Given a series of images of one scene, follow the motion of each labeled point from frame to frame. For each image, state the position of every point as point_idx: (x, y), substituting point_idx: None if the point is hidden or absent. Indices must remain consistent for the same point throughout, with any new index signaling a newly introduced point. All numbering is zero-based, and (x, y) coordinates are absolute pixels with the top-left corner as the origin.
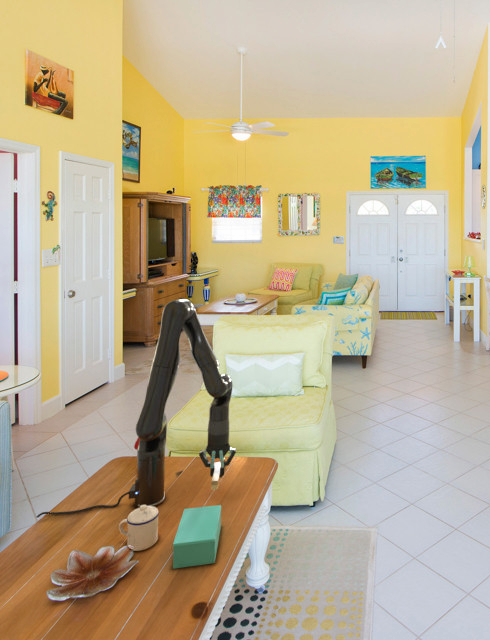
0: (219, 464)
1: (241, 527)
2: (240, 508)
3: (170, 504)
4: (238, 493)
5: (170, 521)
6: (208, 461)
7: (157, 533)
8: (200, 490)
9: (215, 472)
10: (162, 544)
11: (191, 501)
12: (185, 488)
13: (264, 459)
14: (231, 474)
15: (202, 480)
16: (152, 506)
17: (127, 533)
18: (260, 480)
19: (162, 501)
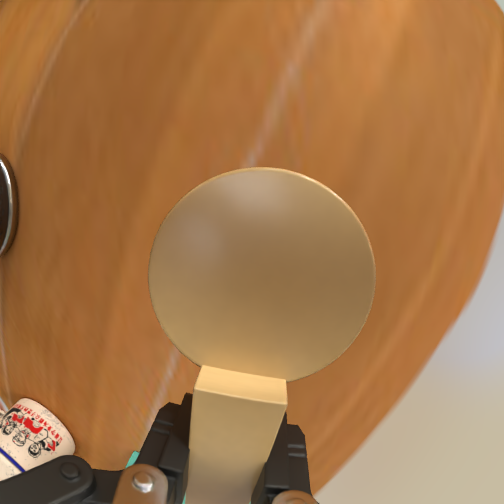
0: (265, 282)
1: (318, 489)
2: (350, 412)
3: (42, 256)
4: (379, 283)
5: (73, 380)
6: (75, 500)
7: (66, 454)
8: (159, 158)
9: (203, 501)
10: (94, 458)
11: (117, 268)
12: (89, 114)
13: (496, 4)
14: (359, 33)
15: (179, 43)
16: (6, 466)
17: (3, 411)
18: (496, 187)
19: (14, 229)
